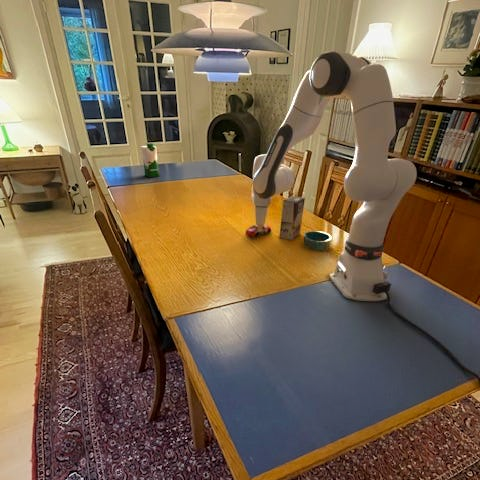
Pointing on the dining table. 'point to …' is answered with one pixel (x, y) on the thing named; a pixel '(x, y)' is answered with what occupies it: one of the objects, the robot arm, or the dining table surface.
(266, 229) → the race car
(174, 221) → the dining table surface
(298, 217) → the coffee box
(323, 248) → the teal bowl
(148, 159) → the milk carton
